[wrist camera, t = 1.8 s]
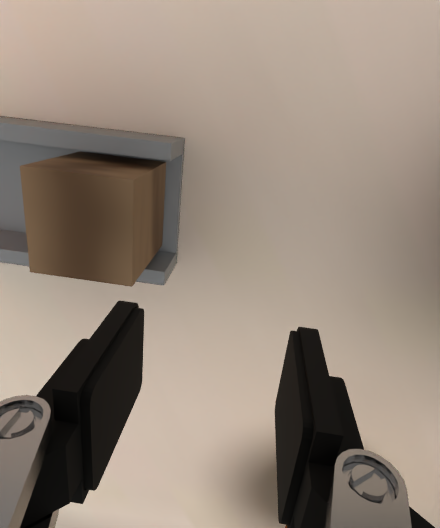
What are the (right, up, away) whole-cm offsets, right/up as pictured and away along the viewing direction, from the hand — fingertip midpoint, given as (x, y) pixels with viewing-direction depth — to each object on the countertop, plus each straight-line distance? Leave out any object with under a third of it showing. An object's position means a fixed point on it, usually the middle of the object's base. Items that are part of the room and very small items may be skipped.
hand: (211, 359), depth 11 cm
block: (-7, +7, +16) cm, 19 cm away
